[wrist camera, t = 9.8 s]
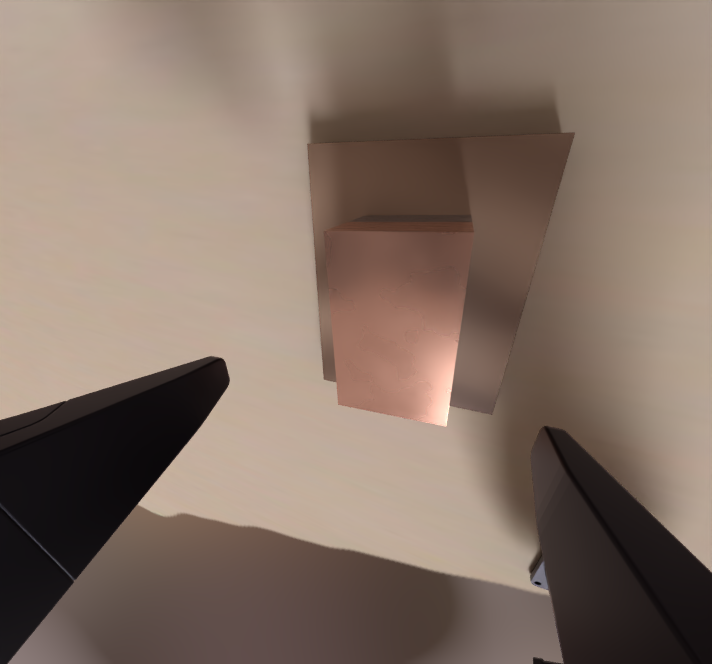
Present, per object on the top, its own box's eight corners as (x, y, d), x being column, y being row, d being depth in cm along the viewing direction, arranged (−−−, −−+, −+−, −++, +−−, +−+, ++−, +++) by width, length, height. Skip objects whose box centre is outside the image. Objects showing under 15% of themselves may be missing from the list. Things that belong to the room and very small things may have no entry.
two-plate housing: (471, 214, 13) (474, 232, 9) (450, 363, 17) (446, 426, 12) (364, 215, 14) (323, 231, 10) (367, 352, 18) (338, 404, 14)
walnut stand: (490, 398, 19) (492, 414, 17) (332, 367, 22) (323, 379, 20) (563, 137, 12) (575, 132, 11) (320, 146, 15) (307, 143, 14)
